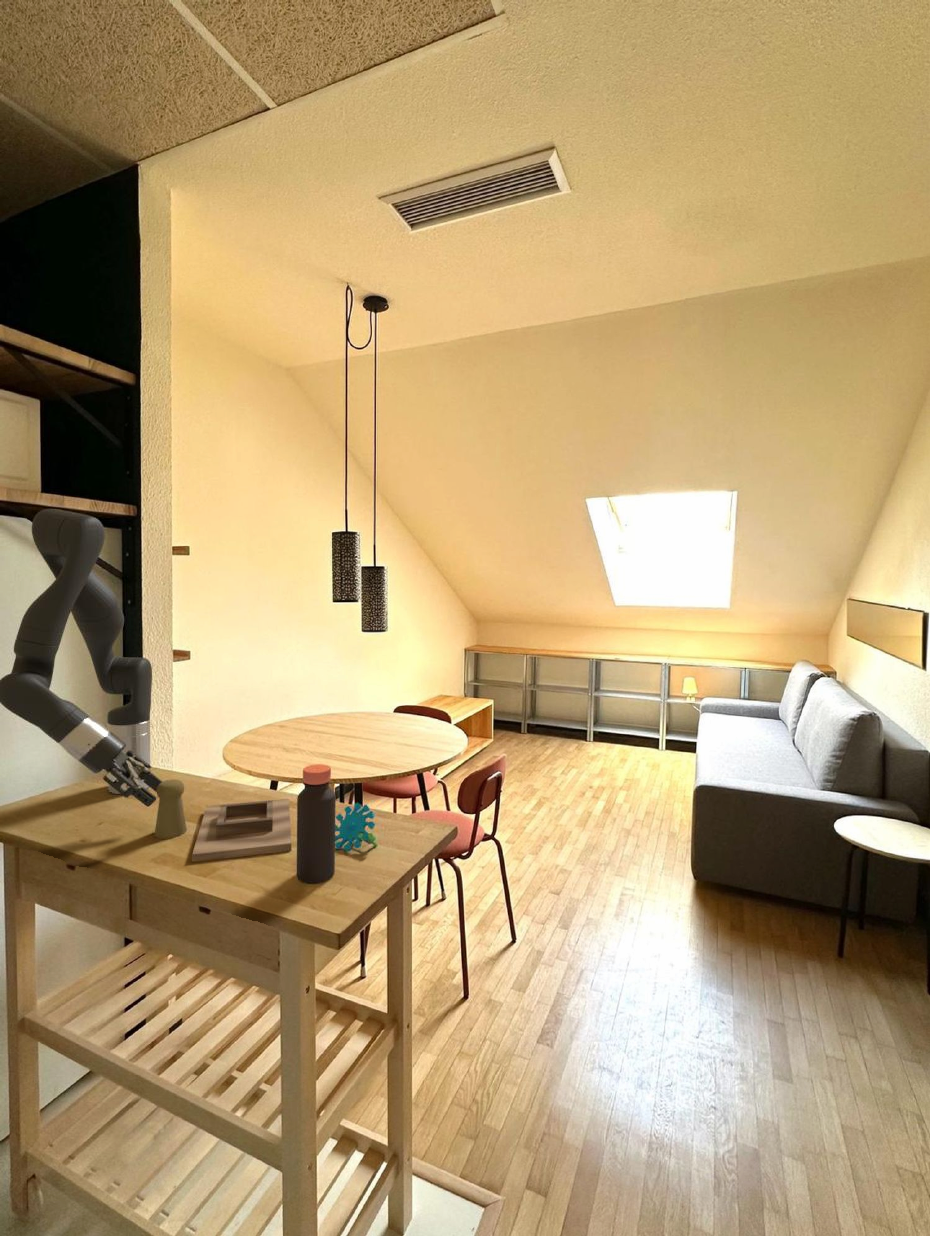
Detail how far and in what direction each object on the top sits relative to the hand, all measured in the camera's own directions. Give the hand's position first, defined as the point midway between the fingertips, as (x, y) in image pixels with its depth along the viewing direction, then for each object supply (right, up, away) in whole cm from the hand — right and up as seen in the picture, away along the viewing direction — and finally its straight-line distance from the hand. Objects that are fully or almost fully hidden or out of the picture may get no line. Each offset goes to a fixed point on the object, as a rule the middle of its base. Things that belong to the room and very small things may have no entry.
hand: (157, 795), depth 119 cm
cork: (+2, -8, +1) cm, 9 cm away
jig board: (+17, -9, +3) cm, 20 cm away
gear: (+42, -10, -2) cm, 43 cm away
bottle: (+37, -10, -14) cm, 41 cm away
